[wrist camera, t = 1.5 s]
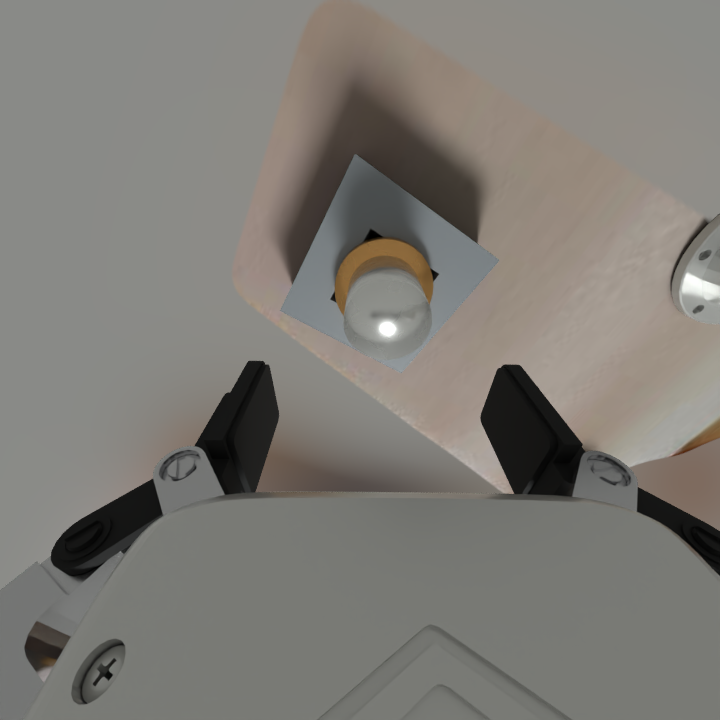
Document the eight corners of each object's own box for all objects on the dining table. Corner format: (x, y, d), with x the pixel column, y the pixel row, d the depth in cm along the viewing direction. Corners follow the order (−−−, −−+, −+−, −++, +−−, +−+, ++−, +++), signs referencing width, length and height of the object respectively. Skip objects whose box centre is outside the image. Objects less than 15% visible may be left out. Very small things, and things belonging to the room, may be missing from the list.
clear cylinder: (429, 227, 23) (462, 263, 15) (417, 310, 27) (438, 373, 19) (338, 225, 23) (322, 259, 15) (340, 308, 27) (329, 370, 19)
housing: (357, 155, 21) (354, 153, 17) (477, 243, 24) (499, 260, 20) (293, 288, 27) (280, 310, 23) (396, 344, 30) (401, 373, 26)
